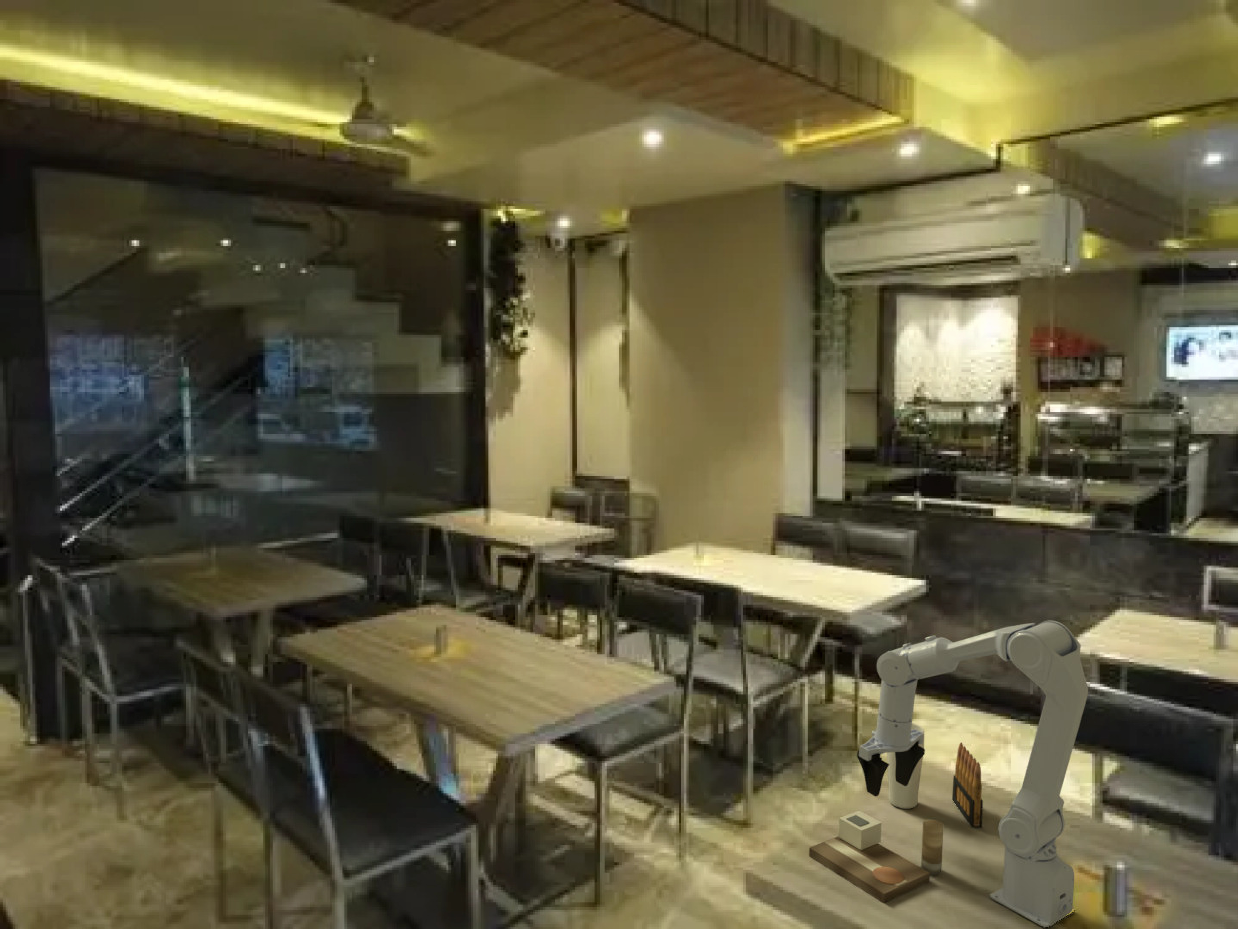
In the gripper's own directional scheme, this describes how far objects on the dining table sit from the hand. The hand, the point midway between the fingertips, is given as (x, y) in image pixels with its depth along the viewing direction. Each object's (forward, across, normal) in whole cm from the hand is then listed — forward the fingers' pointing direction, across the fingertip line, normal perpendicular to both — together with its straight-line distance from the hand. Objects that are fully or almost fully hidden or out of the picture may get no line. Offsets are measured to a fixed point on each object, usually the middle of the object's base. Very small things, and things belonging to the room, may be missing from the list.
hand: (887, 788), depth 155 cm
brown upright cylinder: (+8, +2, +12) cm, 14 cm away
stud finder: (+8, +7, 0) cm, 10 cm away
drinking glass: (+10, -13, -6) cm, 18 cm away
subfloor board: (+9, +10, +6) cm, 15 cm away
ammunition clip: (+9, -20, +3) cm, 22 cm away
